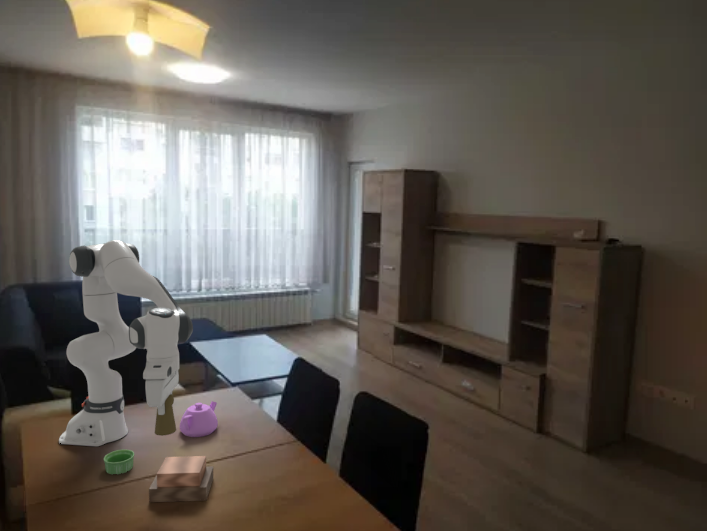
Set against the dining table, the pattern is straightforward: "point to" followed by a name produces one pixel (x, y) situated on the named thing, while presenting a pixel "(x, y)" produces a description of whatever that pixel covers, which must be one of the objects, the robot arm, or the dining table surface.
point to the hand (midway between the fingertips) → (164, 410)
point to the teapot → (199, 420)
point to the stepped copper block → (182, 480)
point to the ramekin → (119, 461)
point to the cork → (166, 419)
